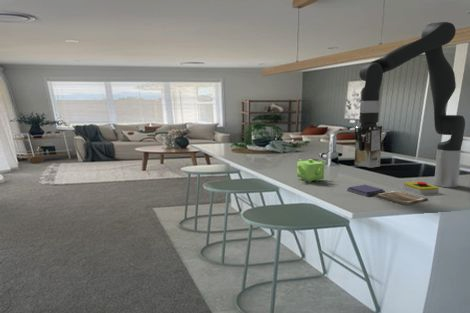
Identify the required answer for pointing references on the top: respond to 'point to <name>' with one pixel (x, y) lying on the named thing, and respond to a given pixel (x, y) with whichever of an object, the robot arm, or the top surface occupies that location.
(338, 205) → the top surface
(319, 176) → the green knobbed block
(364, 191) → the ink pad
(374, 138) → the coffee box
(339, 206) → the top surface
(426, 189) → the emergency button
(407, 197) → the marked board
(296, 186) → the top surface
